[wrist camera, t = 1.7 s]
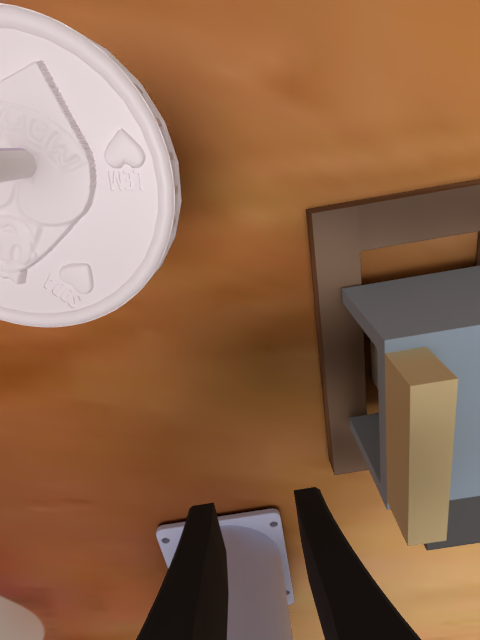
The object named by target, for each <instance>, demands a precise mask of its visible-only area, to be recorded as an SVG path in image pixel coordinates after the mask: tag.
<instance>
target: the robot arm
mask: <svg viewBox="0 0 480 640" xmlns="http://www.w3.org/2000/svg"><path fill="white" fill-rule="evenodd" d="M294 495H295V502H296V509H297V516H298V522H299V529H300V536H301V542H302V548H303V553H304V558H305V563H306V569H307V574H308V579H309V583H310V587H311V590H312V594H313V598H314V601H315V605H316V608H317V612H318V616H319V619H320V623H321V626H322V630H323V634H324V637H325V640H421V639H420V638H419V636H418V635H417V634H416V633H415V632H414V630H413V629H412V628H411V627H410V626H409V624H408V623H407V622H406V621H405V620H404V618H403V617H402V616H401V615H400V613H399V612H398V611H397V610H396V608H395V607H394V606H393V605H392V603H391V602H390V601H389V599H388V598H387V597H386V595H385V594H384V593H383V591H382V590H381V589H380V587H379V586H378V585H377V583H376V582H375V581H374V579H373V578H372V577H371V575H370V574H369V572H368V571H367V569H366V568H365V567H364V565H363V564H362V562H361V561H360V559H359V558H358V556H357V555H356V553H355V552H354V550H353V549H352V547H351V546H350V544H349V543H348V541H347V540H346V538H345V536H344V535H343V533H342V531H341V530H340V528H339V526H338V525H337V523H336V521H335V520H334V518H333V516H332V514H331V512H330V511H329V509H328V507H327V505H326V503H325V501H324V498H323V496H322V494H321V492H320V490H319V489H318V488H316V487H313V488H306V489H300V490H294ZM273 521H274V522H273ZM156 537H157V540H158V543H159V545H160V548H161V551H162V554H163V556H164V559H165V562H166V565H167V567H168V571H167V574H166V576H165V578H164V581H163V583H162V586H161V588H160V590H159V593H158V595H157V597H156V599H155V601H154V603H153V606H152V608H151V610H150V612H149V614H148V616H147V618H146V621H145V623H144V625H143V627H142V629H141V631H140V633H139V635H138V637H137V639H136V640H293V637H292V630H291V623H290V616H289V609H288V605H291V604H293V603H294V600H295V599H294V593H293V588H292V582H291V576H290V570H289V564H288V558H287V553H286V547H285V541H284V535H283V529H282V523H281V518H280V513H279V511H278V510H277V509H274V508H273V509H265V510H258V511H252V512H245V513H238V514H232V515H225V516H219V517H217V514H216V510H215V506H214V503H209V504H202V505H196V506H192V507H191V508H190V509H189V512H188V516H187V519H186V522H180V523H173V524H167V525H161V526H159V527H158V528H157V531H156Z"/></svg>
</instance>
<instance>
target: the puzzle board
mask: <svg viewBox="0 0 480 640" xmlns="http://www.w3.org/2000/svg"><path fill="white" fill-rule="evenodd" d="M306 213H307V224H308V235H309V246H310V257H311V268H312V278H313V289H314V300H315V311H316V322H317V332H318V343H319V354H320V365H321V376H322V386H323V397H324V408H325V419H326V430H327V440H328V451H329V461H330V464H331V467H332V469H333V472H334V475H339V474H345V473H352V472H358V471H365V470H369V468H368V466H367V464H366V462H365V460H364V457H363V455H362V453H361V451H360V449H359V446H358V444H357V442H356V440H355V438H354V435H353V433H352V431H351V429H350V417H356V416H363V415H367V410H366V385H365V360H364V335H363V329H362V328H361V326H360V325H359V324H358V323H357V321H356V320H355V319H354V317H353V316H352V315H351V313H350V312H349V311H348V309H347V308H346V307H345V305H344V304H343V303H342V289H343V288H349V287H355V286H361V259H360V251H365V250H370V249H376V248H382V247H388V246H394V245H400V244H406V243H412V242H418V241H423V240H429V239H435V238H441V237H447V236H453V235H459V234H465V233H470V232H476V231H479V236H478V248H477V260H476V266H480V179H478V180H472V181H467V182H461V183H455V184H449V185H444V186H438V187H432V188H426V189H421V190H415V191H409V192H403V193H397V194H392V195H386V196H380V197H374V198H369V199H363V200H357V201H351V202H346V203H340V204H334V205H328V206H323V207H317V208H311V209H306Z"/></svg>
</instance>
